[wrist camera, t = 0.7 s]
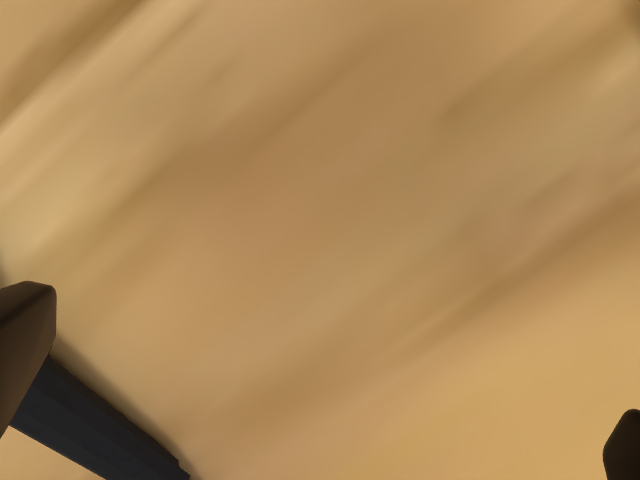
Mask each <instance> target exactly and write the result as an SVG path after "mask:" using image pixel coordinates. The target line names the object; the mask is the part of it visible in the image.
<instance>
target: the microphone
mask: <svg viewBox="0 0 640 480" xmlns="http://www.w3.org/2000/svg"><path fill="white" fill-rule="evenodd" d="M9 426H11V427H13V428H15V429H17V430H18V431H20V432H22V433H24V434H25V435H27V436H29V437H31V438H33V439H34V440H36V441H38V442H40V443H42V444H43V445H45V446H47V447H49V448H51V449H52V450H54V451H56V452H58V453H59V454H61V455H63V456H65V457H67V458H68V459H70V460H72V461H74V462H76V463H77V464H79V465H81V466H83V467H85V468H86V469H88V470H90V471H92V472H94V473H95V474H97V475H99V476H101V477H102V478H104V479H106V480H189V478H190V474H188V473H187V472H185V471H184V470H182V469H181V468H180V467H178V459H176V458H175V457H174V456H173V455H171V454H170V453H169V452H168V451H166V450H165V449H164V448H163V447H161V446H160V445H159V444H158V443H156V442H155V441H154V440H153V439H151V438H150V437H149V436H148V435H147V434H145V433H144V432H143V431H142V430H140V429H139V428H138V427H137V426H135V425H134V424H133V423H132V422H130V421H129V420H128V419H127V418H125V417H124V416H123V415H122V414H120V413H119V412H118V411H117V410H115V409H114V408H113V407H112V406H110V405H109V404H108V403H107V402H105V401H104V400H103V399H102V398H100V397H99V396H98V395H97V394H95V393H94V392H93V391H92V390H90V389H89V388H88V387H87V386H85V385H84V384H83V383H82V382H80V381H79V380H78V379H77V378H76V377H74V376H73V375H72V374H71V373H69V372H68V371H67V370H66V369H64V368H63V367H62V366H61V365H59V364H58V363H57V362H56V361H54V360H53V359H52V358H51V357H49V356H48V355H47V356H46V358H45V360H44V362H43V363H42V365H41V367H40V369H39V371H38V373H37V374H36V376H35V378H34V380H33V382H32V384H31V385H30V387H29V389H28V391H27V393H26V395H25V396H24V398H23V400H22V402H21V404H20V406H19V407H18V409H17V411H16V413H15V415H14V417H13V418H12V420H11V422H10V424H9Z"/></svg>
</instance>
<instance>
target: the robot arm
mask: <svg viewBox="0 0 640 480" xmlns="http://www.w3.org/2000/svg"><path fill="white" fill-rule="evenodd" d="M56 303H57V295H56V291H55V289H54V288H53V287H52V286H51V285H46V284H42V283H37V282H32V281H23V282H20V283H17V284H14V285H11V286H8V287H5V288H2V289H0V438H1V437H2V435H3V434H4V432H5V430H6V429H7V427H8V425H9V424H10V422H11V420H12V418H13V417H14V415H15V413H16V411H17V409H18V407H19V406H20V404H21V402H22V400H23V398H24V396H25V395H26V393H27V391H28V389H29V387H30V385H31V384H32V382H33V380H34V378H35V376H36V374H37V373H38V371H39V369H40V367H41V365H42V363H43V362H44V360H45V358H46V356H47V354H48V352H49V351H50V349H51V347H52V345H53V342H54V339H55V334H56ZM603 463H604V467H605V471H606V475H607V480H640V410H637V409H630V410H628V411H626V412H625V413H624V414H623V415H622V417H621V419H620V420H619V422H618V424H617V425H616V427H615V429H614V430H613V432H612V434H611V435H610V437H609V439H608V440H607V442H606V444H605V446H604V449H603Z"/></svg>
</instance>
